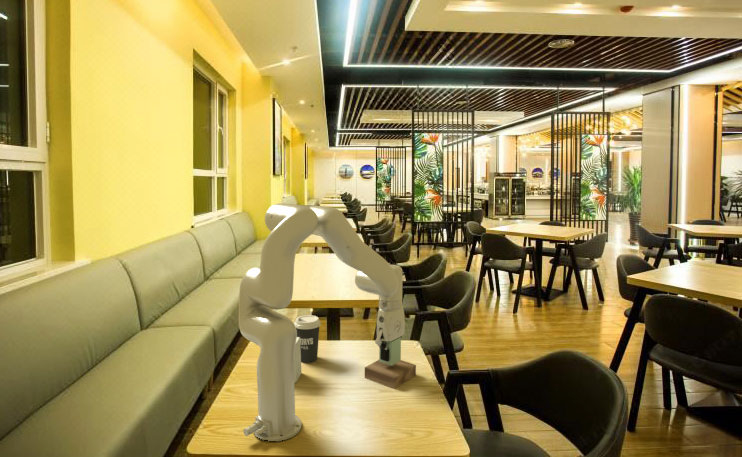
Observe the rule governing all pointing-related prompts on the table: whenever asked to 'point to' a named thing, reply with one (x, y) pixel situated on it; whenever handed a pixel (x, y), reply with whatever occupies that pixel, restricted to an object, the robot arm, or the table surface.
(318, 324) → the coffee cup
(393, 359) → the sage block
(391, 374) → the block
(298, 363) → the supplement box
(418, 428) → the table surface
